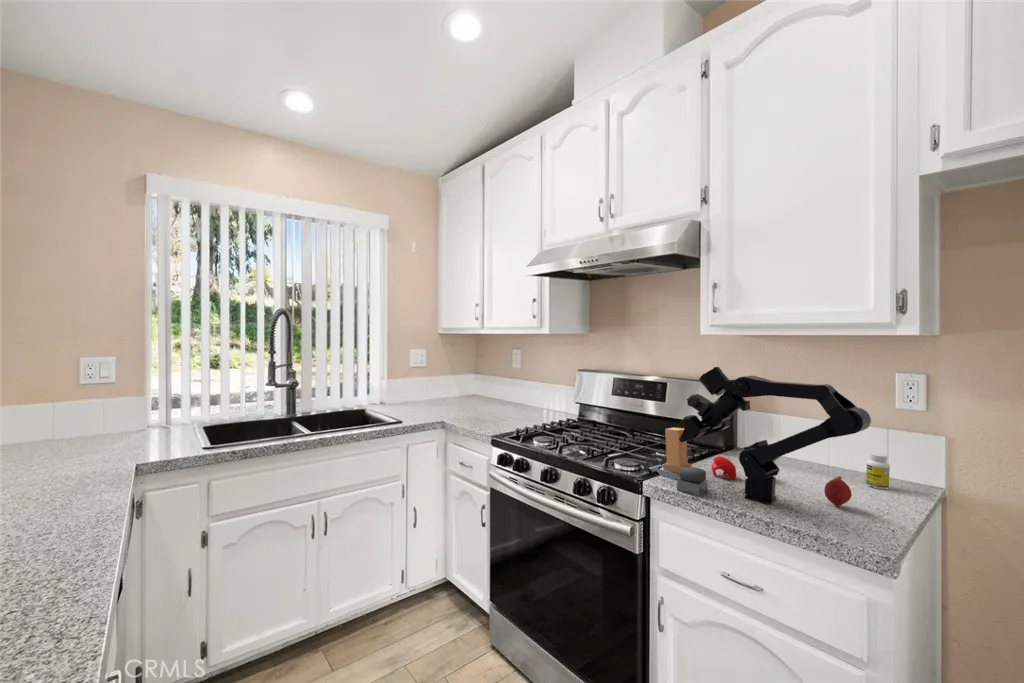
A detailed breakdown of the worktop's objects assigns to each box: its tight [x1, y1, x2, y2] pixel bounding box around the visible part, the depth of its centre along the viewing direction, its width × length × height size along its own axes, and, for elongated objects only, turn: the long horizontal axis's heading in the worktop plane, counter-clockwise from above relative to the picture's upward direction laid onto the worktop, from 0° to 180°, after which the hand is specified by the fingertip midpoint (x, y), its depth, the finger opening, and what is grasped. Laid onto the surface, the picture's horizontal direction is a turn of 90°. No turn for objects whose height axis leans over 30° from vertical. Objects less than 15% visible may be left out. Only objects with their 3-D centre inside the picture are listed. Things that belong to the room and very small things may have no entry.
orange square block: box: [663, 427, 692, 473], centre depth 148 cm, size 6×6×13 cm
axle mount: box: [676, 478, 709, 496], centre depth 133 cm, size 6×6×3 cm
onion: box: [823, 475, 852, 507], centre depth 123 cm, size 6×6×8 cm
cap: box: [711, 455, 737, 481], centre depth 146 cm, size 8×6×6 cm
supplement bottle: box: [865, 452, 891, 489], centre depth 139 cm, size 5×5×10 cm
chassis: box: [648, 463, 681, 480], centre depth 149 cm, size 12×10×2 cm
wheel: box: [679, 466, 707, 482], centre depth 133 cm, size 7×7×5 cm
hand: (688, 438), depth 144 cm, fingers open, 9 cm apart
